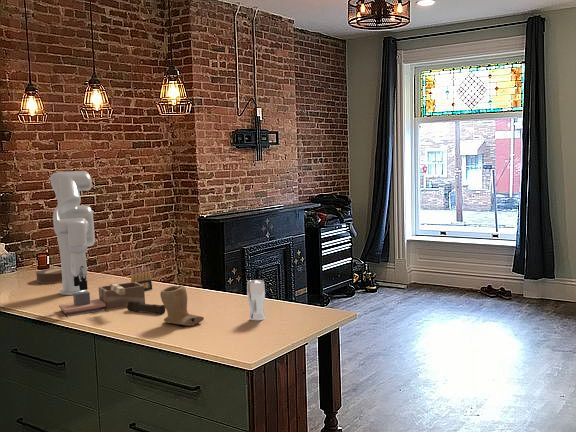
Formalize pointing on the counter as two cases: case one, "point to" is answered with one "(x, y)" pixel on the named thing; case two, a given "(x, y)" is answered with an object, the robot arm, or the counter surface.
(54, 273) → the container
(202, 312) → the counter surface
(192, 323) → the brown boot
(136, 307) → the black rough elongated piece
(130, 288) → the toolbox
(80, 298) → the lid
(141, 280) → the ammunition clip
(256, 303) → the beer glass
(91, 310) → the mat
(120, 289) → the rectangular bar
